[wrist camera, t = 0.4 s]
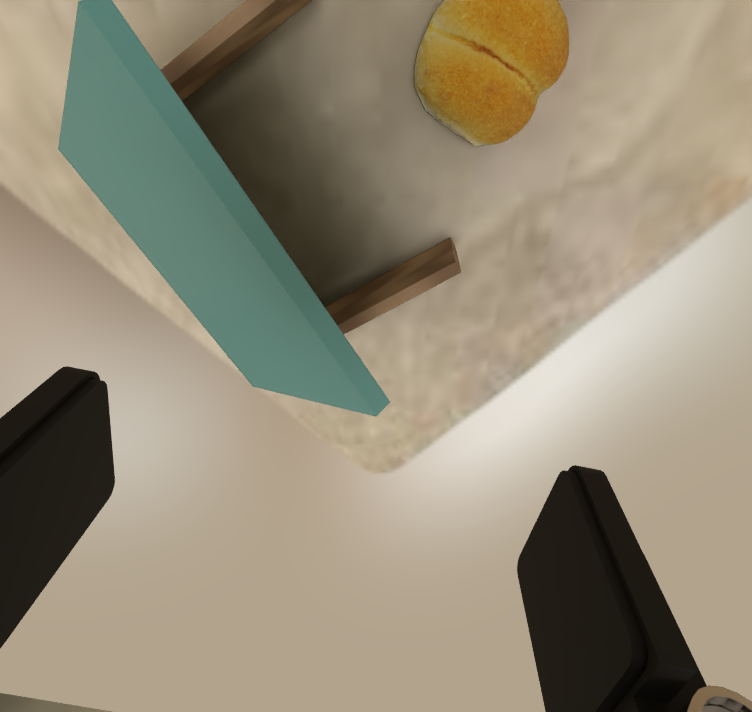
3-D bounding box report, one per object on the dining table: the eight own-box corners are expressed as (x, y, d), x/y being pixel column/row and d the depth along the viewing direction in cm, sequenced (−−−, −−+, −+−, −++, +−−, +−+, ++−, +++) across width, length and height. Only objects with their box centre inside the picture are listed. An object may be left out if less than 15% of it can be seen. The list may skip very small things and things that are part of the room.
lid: (105, -10, 17) (78, 1, 17) (390, 401, 24) (376, 416, 24) (73, 140, 30) (58, 149, 30) (263, 377, 37) (252, 386, 37)
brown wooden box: (311, -20, 30) (291, -37, 26) (455, 246, 37) (461, 272, 33) (121, 131, 35) (74, 140, 30) (280, 342, 42) (263, 376, 37)
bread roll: (588, 27, 31) (611, 21, 27) (494, 161, 35) (504, 170, 31) (477, -63, 29) (486, -82, 26) (392, 88, 33) (389, 90, 30)
